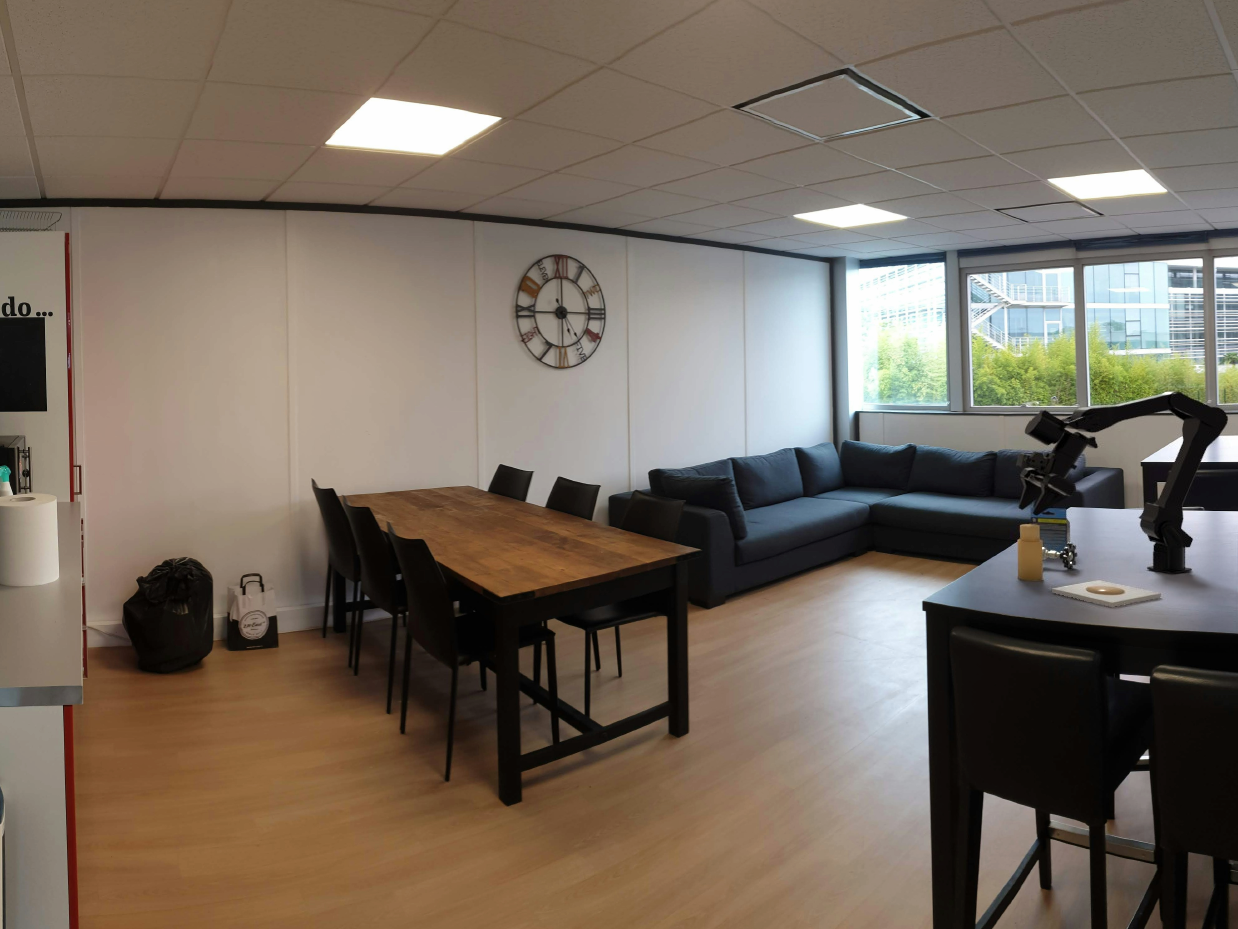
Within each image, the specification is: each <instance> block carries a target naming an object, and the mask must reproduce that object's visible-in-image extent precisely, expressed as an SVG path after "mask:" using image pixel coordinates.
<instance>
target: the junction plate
mask: <svg viewBox="0 0 1238 929" xmlns="http://www.w3.org/2000/svg"><path fill="white" fill-rule="evenodd" d="M1051 593H1052V594H1054V593H1056V594H1055V595H1058V594H1060V595H1059V596H1062V595H1064V596H1063V597H1067V596H1068V597H1067V598H1071V597H1073V598H1072V599H1075V598H1077V599H1076V600H1079V599H1080V601H1083V600H1084V602H1088V603H1091V602H1093V604H1096V603H1097V604H1096V605H1100V604H1101V606H1104V605H1105V606H1104V607H1108V606H1109V607H1108V608H1116V607H1115V606H1117V607H1121V606H1120V605H1122V606H1125V605H1124V604H1127V605H1130V604H1129V603H1132V604H1134V603H1133V602H1138V603H1141V602H1140V601H1143V602H1147V601H1146V600H1148V601H1151V600H1150V599H1153V600H1157V599H1156V598H1158V599H1161V598H1162V597H1161V596H1162V594H1161V593H1160V592H1157V591H1153V590H1152V591H1151V590H1147V589H1144V588H1143V589H1142V588H1139V587H1138V588H1137V587H1133V586H1128V585H1123V584H1118V583H1114V582H1109V581H1104V580H1100V579H1099V580H1098V579H1097V580H1092V581H1087V582H1081V583H1075V584H1070V585H1064V586H1058V587H1053V588H1051ZM1160 597H1161V598H1160Z"/></svg>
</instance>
